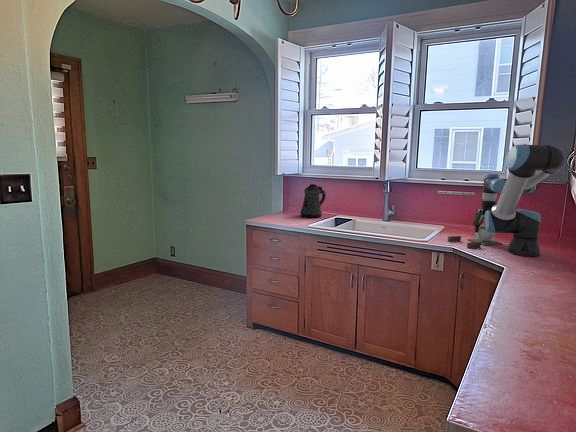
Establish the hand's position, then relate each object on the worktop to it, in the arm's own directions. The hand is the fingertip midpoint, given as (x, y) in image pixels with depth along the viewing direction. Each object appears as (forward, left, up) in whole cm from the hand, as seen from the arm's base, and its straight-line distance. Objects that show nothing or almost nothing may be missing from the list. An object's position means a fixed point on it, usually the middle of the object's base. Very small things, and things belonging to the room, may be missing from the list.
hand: (484, 237), depth 235 cm
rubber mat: (0, 0, -3) cm, 3 cm away
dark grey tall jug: (+103, +69, -3) cm, 124 cm away
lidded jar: (0, 0, -1) cm, 1 cm away
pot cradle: (-1, +16, -3) cm, 16 cm away
